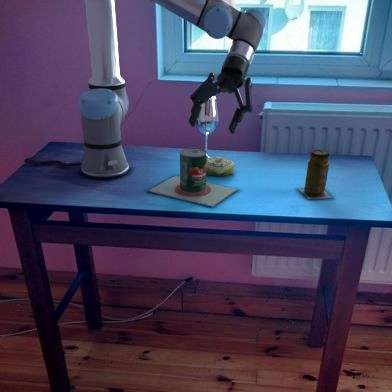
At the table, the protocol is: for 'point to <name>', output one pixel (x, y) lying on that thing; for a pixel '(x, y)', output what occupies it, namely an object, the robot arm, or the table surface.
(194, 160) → the canned tomato
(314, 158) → the condiment
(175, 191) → the placemat
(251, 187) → the table surface
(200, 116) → the wineglass
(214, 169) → the decorated donut
